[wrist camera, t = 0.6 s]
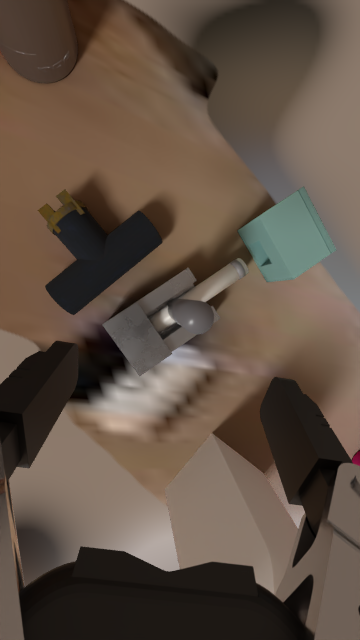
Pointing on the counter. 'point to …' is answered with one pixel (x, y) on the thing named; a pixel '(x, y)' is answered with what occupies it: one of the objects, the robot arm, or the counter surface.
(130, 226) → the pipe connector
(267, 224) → the teal block
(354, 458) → the pepper mill
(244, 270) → the grey piece
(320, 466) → the robot arm
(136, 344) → the grey grooved block
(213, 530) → the milk
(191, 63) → the counter surface
